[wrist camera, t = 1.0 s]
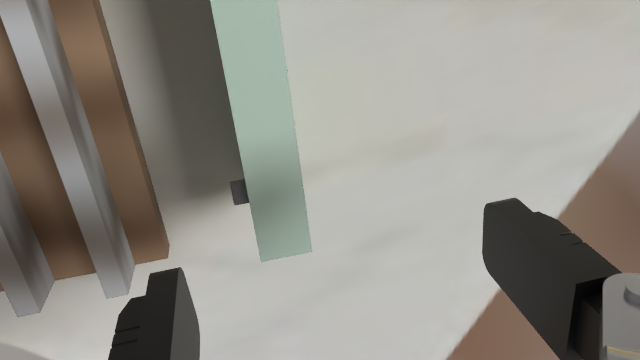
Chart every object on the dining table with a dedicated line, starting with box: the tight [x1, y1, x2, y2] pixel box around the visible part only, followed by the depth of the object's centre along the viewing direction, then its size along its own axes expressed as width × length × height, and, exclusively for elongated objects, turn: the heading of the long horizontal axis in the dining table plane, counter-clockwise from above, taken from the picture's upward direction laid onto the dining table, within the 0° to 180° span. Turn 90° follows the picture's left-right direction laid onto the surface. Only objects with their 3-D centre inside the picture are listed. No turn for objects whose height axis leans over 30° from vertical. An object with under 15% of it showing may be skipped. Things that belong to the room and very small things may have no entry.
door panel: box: [210, 0, 312, 262], centre depth 24 cm, size 14×3×10 cm, turn 6°
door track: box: [0, 0, 170, 317], centre depth 25 cm, size 22×10×4 cm, turn 6°
